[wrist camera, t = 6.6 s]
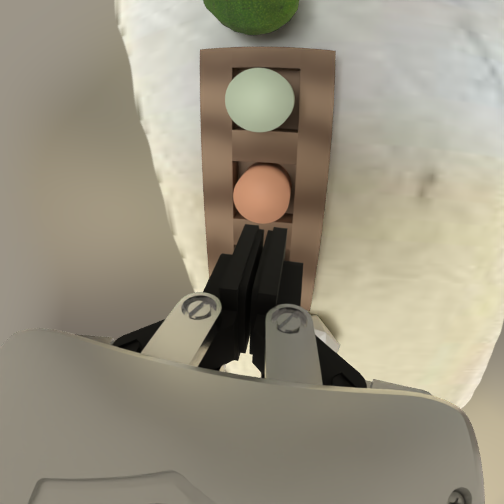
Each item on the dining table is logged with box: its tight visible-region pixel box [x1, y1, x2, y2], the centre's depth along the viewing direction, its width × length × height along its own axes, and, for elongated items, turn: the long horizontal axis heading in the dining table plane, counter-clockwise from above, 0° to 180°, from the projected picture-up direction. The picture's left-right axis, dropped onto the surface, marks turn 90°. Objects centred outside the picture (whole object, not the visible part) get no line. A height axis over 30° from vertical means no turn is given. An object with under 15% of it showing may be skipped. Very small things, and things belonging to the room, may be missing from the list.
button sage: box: [225, 68, 295, 132], centre depth 22 cm, size 5×5×4 cm
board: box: [200, 47, 336, 311], centre depth 30 cm, size 28×12×3 cm, turn 0°
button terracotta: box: [233, 162, 292, 224], centre depth 29 cm, size 5×5×4 cm
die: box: [311, 315, 340, 353], centre depth 37 cm, size 8×9×10 cm
